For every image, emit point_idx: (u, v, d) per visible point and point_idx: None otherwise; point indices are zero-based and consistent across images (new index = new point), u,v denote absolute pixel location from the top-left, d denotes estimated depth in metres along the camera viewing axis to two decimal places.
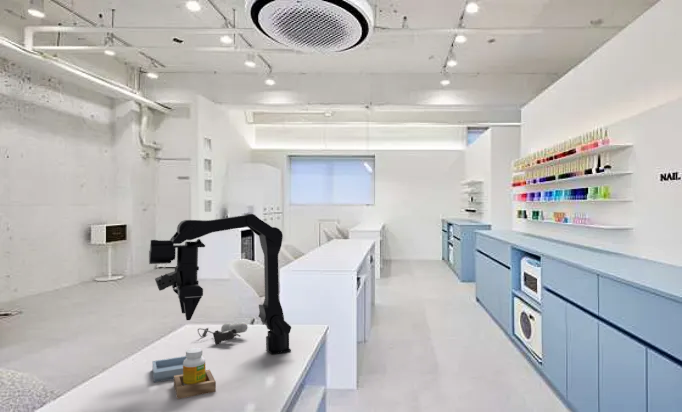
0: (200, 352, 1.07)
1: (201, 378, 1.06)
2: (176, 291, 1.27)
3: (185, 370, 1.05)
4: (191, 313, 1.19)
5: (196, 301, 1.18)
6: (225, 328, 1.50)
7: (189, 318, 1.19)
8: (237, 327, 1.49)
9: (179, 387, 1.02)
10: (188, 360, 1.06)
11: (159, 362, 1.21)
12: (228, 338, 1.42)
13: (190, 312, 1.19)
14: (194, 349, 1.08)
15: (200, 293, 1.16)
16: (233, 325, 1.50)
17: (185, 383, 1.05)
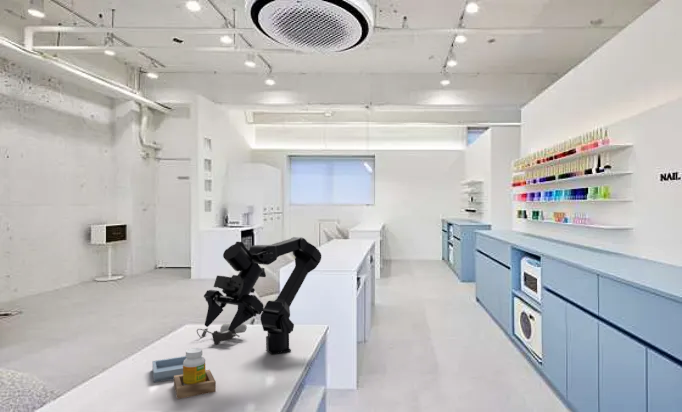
0: (200, 352, 1.07)
1: (201, 378, 1.06)
2: (212, 301, 1.20)
3: (185, 370, 1.05)
4: (236, 325, 1.13)
5: (247, 317, 1.16)
6: (224, 328, 1.50)
7: (231, 329, 1.12)
8: None
9: (179, 387, 1.02)
10: (188, 360, 1.06)
11: (159, 362, 1.21)
12: (227, 338, 1.42)
13: (236, 324, 1.13)
14: (194, 349, 1.08)
15: (261, 311, 1.16)
16: None
17: (185, 383, 1.05)
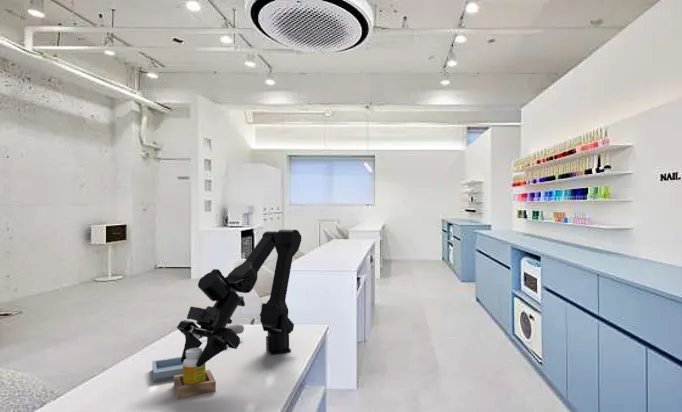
0: (200, 352, 1.07)
1: (201, 377, 1.06)
2: (190, 334, 1.11)
3: (185, 370, 1.05)
4: (205, 360, 1.06)
5: (218, 351, 1.08)
6: None
7: (200, 364, 1.05)
8: (233, 328, 1.47)
9: (179, 387, 1.02)
10: (188, 360, 1.06)
11: (159, 362, 1.21)
12: None
13: (205, 359, 1.06)
14: (194, 349, 1.08)
15: (237, 345, 1.08)
16: (229, 326, 1.48)
17: (185, 383, 1.05)
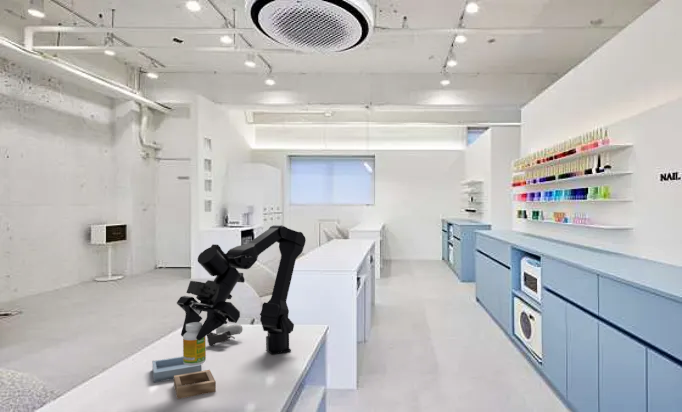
0: (200, 326, 1.07)
1: (201, 351, 1.06)
2: (190, 308, 1.11)
3: (185, 343, 1.05)
4: (205, 334, 1.06)
5: (218, 324, 1.08)
6: (220, 330, 1.48)
7: (200, 338, 1.05)
8: (232, 328, 1.46)
9: (179, 387, 1.02)
10: (188, 333, 1.06)
11: (159, 362, 1.21)
12: (222, 340, 1.40)
13: (205, 332, 1.06)
14: (194, 323, 1.08)
15: (237, 319, 1.08)
16: (228, 327, 1.48)
17: (185, 356, 1.05)
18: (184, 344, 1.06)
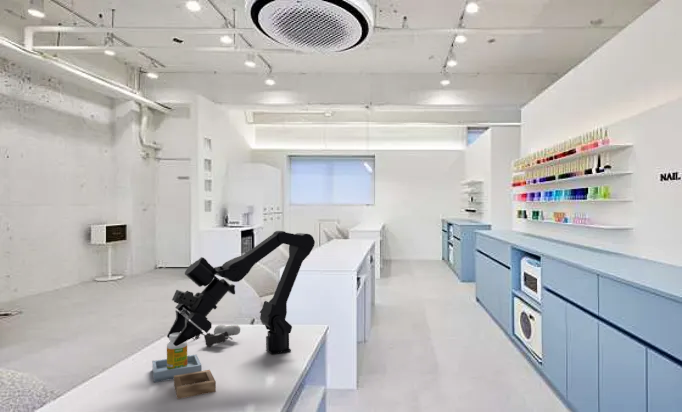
0: None
1: (179, 360, 1.17)
2: (178, 314, 1.24)
3: None
4: (182, 341, 1.15)
5: (195, 333, 1.16)
6: (218, 330, 1.47)
7: (176, 344, 1.15)
8: (229, 329, 1.45)
9: (179, 387, 1.02)
10: (170, 342, 1.18)
11: (159, 362, 1.21)
12: (219, 341, 1.39)
13: (182, 339, 1.15)
14: (178, 333, 1.20)
15: (207, 329, 1.14)
16: (226, 327, 1.47)
17: (167, 362, 1.17)
18: None
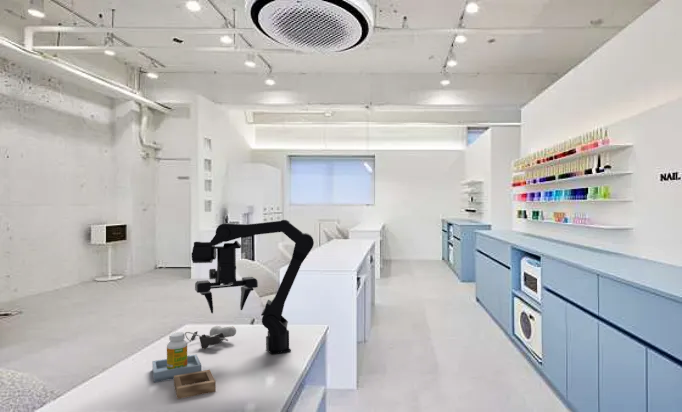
0: (180, 337, 1.17)
1: (179, 360, 1.17)
2: (241, 288, 1.39)
3: None
4: (209, 307, 1.32)
5: (206, 297, 1.30)
6: (213, 332, 1.45)
7: (211, 311, 1.32)
8: (225, 331, 1.44)
9: (179, 387, 1.02)
10: (170, 342, 1.18)
11: (159, 362, 1.21)
12: (214, 342, 1.37)
13: (210, 306, 1.32)
14: (178, 333, 1.19)
15: (197, 290, 1.29)
16: (221, 329, 1.45)
17: (167, 362, 1.17)
18: None
